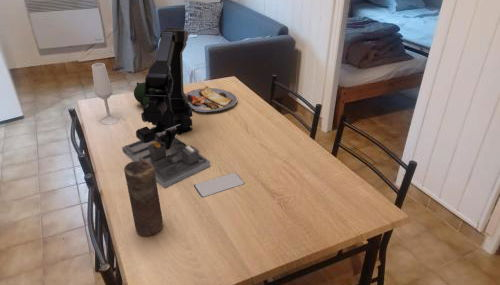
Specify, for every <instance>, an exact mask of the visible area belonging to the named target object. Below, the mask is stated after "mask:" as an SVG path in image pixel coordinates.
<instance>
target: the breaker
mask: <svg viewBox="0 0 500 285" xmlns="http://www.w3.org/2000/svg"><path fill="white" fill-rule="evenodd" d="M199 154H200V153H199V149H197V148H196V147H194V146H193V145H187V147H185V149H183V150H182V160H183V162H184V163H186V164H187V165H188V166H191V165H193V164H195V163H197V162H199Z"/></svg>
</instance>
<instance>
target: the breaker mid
mask: <svg viewBox="0 0 500 285" xmlns="http://www.w3.org/2000/svg"><path fill="white" fill-rule="evenodd" d="M148 147H149V153H150V157H152V158H153V159H154V160H155V161H157V160H159V159H161V158H164V157H166V151H165V145H163V144H162V143H161V142H159V141H158V142H156V141H154V142H152V144H150V145H148Z"/></svg>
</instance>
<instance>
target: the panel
mask: <svg viewBox="0 0 500 285" xmlns="http://www.w3.org/2000/svg"><path fill="white" fill-rule="evenodd" d="M154 141H155V140H154ZM154 141H151V142H148V143H143V142H142V141H141V140H138V141H135V142H132V143H129V144H126V145H124V146H122V147H121V148H122V152H123V153H124V154H125V155H126V156H127V157H128V158H130V159H131V161H132V162H134V161H148V162H150V163H151V164H152V165H153V166H154V170H155V177H156V182H157V183H158V184H159V185H161V186H162V188H164V189H165V188H167V187H170V186H172V185H174V184H176V183H178V182H180V181H183V180H184V179H186V178H187V179H188V178H189V177H191V176H192V175H195V174H197V173H199V172H201V171H203V170H205V169H208V168H210V167H211V161H210V160H209V159H208V158H206V157H205V156H203V155H202V154H200V153H199V162H197V163H195V164H193V165H191V166H188V165H187V164H186V163H184V162H183V160H182V150H183V149H185V147H187V146H188V145H187V144H185V143H184V142H183V141H181V140H180V139H178V138H177V137H175V138H174V140H173V142H172V144H171V146H170V149H168V150H167V149H166V148H165V151H166V157H164V158H161V159H159V160H157V161H155V160H154V159H153V158H152V157H150V153H149V147H148V145H150V144H152V142H154ZM160 142H161V143H162V141H160ZM162 144H163V143H162Z"/></svg>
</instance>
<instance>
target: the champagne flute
mask: <svg viewBox="0 0 500 285" xmlns="http://www.w3.org/2000/svg"><path fill="white" fill-rule="evenodd" d="M91 71H92V78H93V79H92V81H93V87H94V88H93V89H94V94H95V95H96V97H98V98H99V99H101V100H103V103H104V106H105V110H106V115H107V116H106V117H104V118H103V119H102V120H101V123H102V124H103V125H112V124H113V125H114V124H115V123H117V122H118V121H119V118H118V117H116V116H111V113H110V108H109V103H108V102H109V101H108V99H109V98H110V97H111V96H112V94H113V91H114V90H113V88H112V84H111V80H110V77H109V74H108V71H107V67H106V64H105V63H103V62H96V63H93V64H91Z"/></svg>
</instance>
